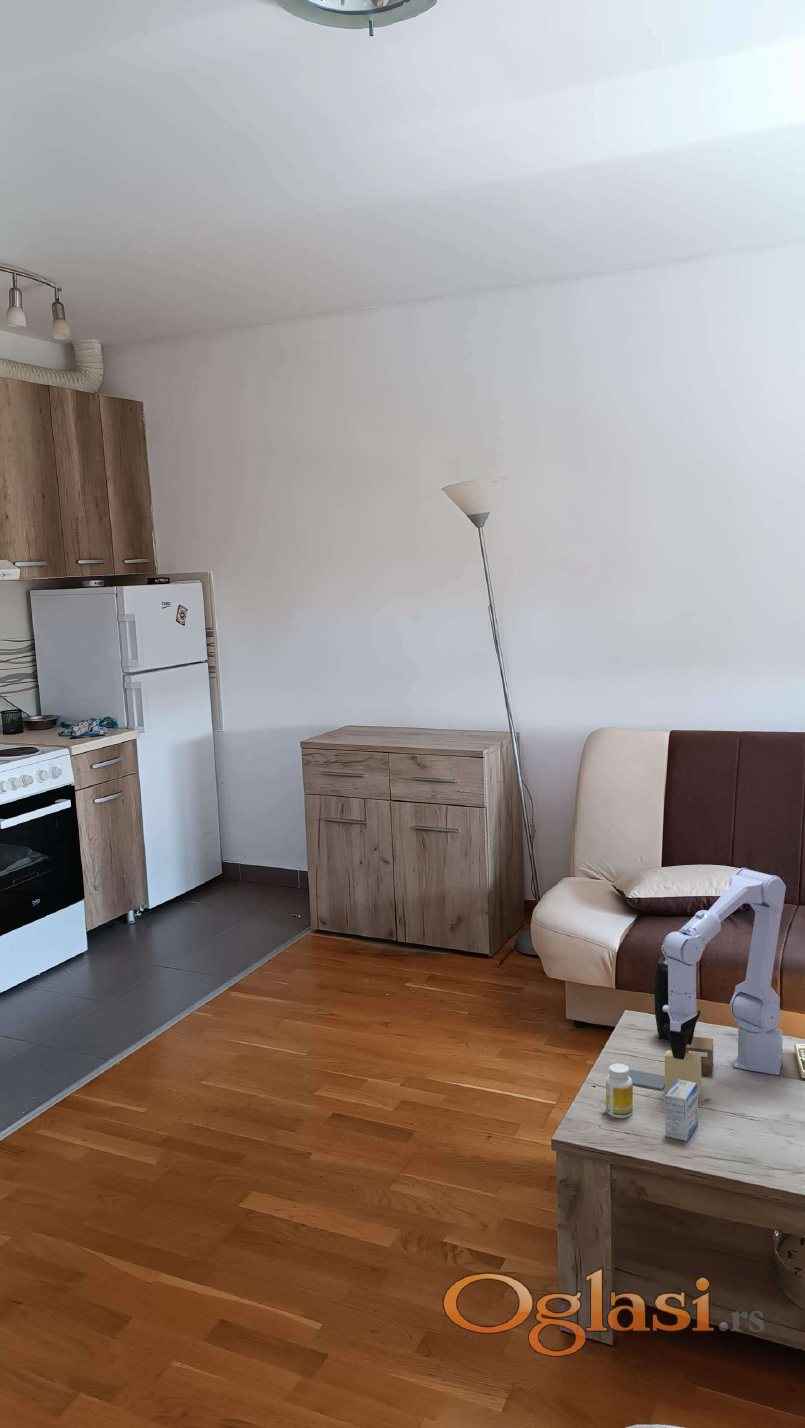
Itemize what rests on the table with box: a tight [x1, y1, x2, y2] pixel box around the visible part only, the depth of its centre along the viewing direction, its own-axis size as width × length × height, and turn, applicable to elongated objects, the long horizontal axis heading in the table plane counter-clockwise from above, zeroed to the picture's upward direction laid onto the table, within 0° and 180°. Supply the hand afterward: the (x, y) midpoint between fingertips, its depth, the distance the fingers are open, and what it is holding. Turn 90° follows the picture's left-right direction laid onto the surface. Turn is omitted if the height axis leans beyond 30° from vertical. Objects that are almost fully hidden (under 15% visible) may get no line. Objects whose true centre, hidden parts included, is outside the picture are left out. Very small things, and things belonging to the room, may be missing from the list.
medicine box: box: [664, 1079, 699, 1142], centre depth 194 cm, size 8×4×9 cm, turn 148°
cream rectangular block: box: [664, 1049, 702, 1099], centre depth 210 cm, size 7×3×8 cm, turn 63°
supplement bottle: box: [605, 1063, 634, 1119], centre depth 202 cm, size 5×5×10 cm
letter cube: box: [686, 1036, 714, 1077], centre depth 220 cm, size 6×6×6 cm
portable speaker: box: [653, 955, 671, 1044], centre depth 234 cm, size 9×9×20 cm
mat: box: [629, 1068, 665, 1092], centre depth 215 cm, size 9×6×1 cm, turn 63°
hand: (682, 1050), depth 209 cm, fingers open, 7 cm apart
